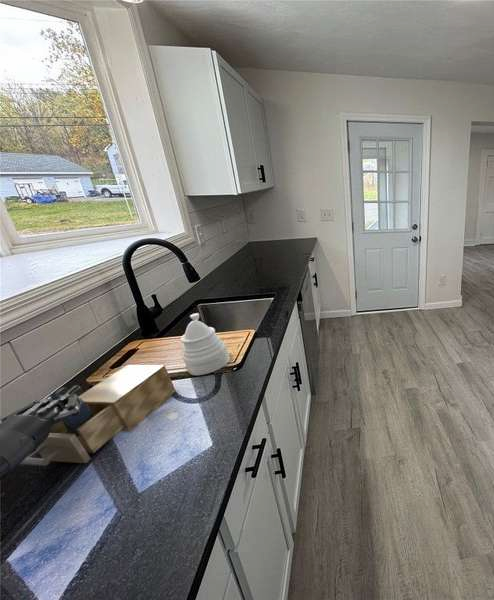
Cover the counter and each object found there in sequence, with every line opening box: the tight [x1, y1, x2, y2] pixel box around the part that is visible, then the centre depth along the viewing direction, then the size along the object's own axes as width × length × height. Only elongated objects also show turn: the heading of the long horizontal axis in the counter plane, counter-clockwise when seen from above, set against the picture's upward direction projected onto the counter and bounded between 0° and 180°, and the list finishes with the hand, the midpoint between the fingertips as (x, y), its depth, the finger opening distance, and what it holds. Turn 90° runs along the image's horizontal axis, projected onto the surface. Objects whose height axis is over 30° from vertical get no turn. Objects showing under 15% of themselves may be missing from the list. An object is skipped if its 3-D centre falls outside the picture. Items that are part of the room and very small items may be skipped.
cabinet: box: [78, 364, 177, 432], centre depth 87 cm, size 16×13×10 cm
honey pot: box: [180, 312, 231, 376], centre depth 105 cm, size 13×13×18 cm
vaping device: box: [49, 392, 94, 437], centre depth 74 cm, size 3×5×12 cm, turn 166°
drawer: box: [19, 404, 125, 467], centre depth 75 cm, size 19×11×8 cm, turn 173°
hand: (72, 389), depth 75 cm, fingers closed on vaping device, 2 cm apart
